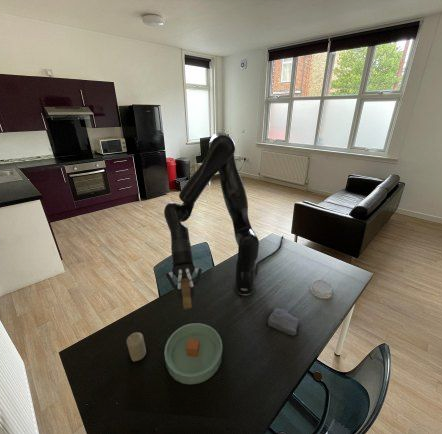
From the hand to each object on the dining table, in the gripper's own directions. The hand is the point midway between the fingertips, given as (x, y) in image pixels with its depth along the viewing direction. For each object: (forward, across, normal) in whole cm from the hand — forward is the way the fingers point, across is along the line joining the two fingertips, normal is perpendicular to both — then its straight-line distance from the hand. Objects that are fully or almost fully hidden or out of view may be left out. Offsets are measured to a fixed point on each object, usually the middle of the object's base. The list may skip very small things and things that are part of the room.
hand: (186, 298), depth 86 cm
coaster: (+7, +65, +21) cm, 69 cm away
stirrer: (+2, 0, +5) cm, 6 cm away
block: (+19, 0, +8) cm, 20 cm away
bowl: (+20, +1, +8) cm, 22 cm away
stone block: (+16, +39, +12) cm, 44 cm away
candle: (+17, -19, +12) cm, 28 cm away
